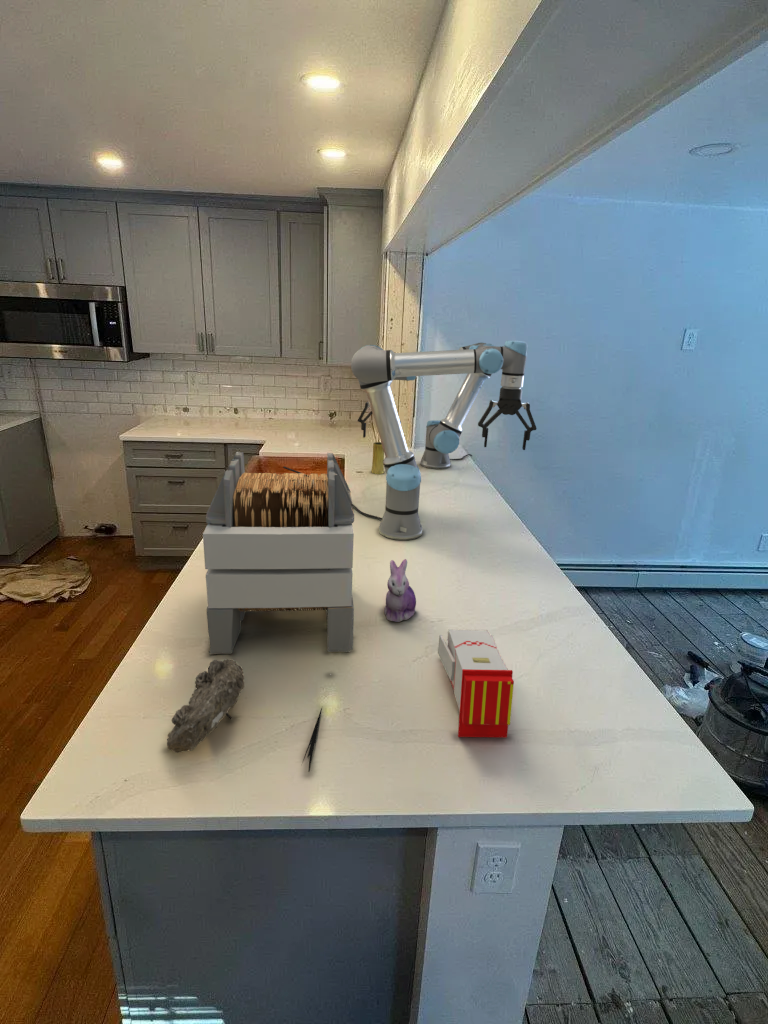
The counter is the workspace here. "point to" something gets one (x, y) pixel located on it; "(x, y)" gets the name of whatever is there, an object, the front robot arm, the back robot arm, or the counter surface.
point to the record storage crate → (279, 550)
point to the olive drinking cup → (378, 458)
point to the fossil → (206, 705)
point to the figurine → (399, 594)
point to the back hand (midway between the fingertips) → (378, 438)
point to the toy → (478, 682)
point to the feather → (313, 740)
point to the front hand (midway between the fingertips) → (504, 447)
